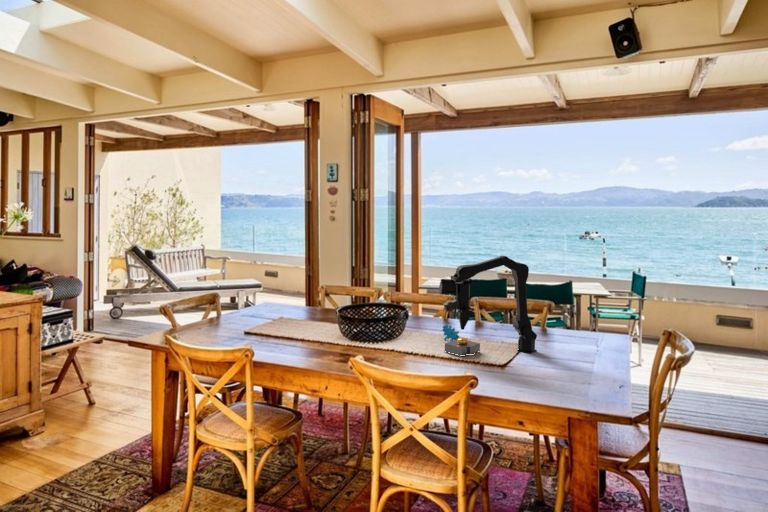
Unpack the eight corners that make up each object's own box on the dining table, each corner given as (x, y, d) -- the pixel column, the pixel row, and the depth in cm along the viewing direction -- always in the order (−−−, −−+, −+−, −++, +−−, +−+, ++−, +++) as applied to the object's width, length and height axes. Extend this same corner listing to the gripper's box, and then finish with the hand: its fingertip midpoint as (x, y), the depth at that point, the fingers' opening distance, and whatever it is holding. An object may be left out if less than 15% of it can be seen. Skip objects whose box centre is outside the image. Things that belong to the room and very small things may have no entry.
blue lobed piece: (450, 341, 230) (440, 323, 235) (443, 348, 233) (433, 331, 238) (465, 340, 237) (455, 323, 242) (457, 347, 240) (447, 330, 245)
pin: (469, 351, 217) (469, 339, 217) (462, 353, 214) (462, 340, 214) (461, 349, 220) (461, 337, 220) (455, 351, 218) (455, 338, 217)
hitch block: (481, 352, 217) (481, 343, 216) (463, 357, 209) (463, 348, 209) (460, 347, 226) (461, 338, 226) (442, 351, 218) (443, 342, 218)
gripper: (441, 291, 224) (440, 324, 225) (448, 298, 205) (448, 334, 207) (465, 291, 225) (464, 324, 226) (475, 298, 206) (474, 334, 207)
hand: (462, 329), depth 217 cm, fingers closed
